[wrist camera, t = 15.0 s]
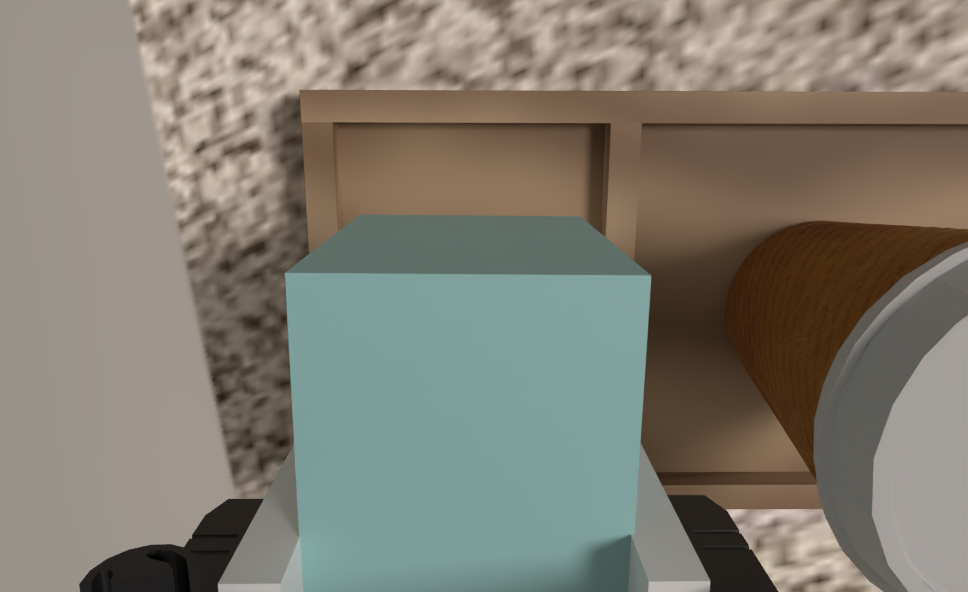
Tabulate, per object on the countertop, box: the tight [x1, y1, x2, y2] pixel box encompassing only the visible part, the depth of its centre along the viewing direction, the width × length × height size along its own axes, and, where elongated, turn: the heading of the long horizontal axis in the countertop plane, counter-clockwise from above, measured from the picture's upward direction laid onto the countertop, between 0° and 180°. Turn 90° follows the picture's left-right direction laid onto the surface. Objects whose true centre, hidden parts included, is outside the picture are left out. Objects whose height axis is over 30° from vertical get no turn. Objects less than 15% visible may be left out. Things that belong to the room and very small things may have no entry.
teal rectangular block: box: [285, 214, 651, 592], centre depth 13 cm, size 10×4×6 cm, turn 179°
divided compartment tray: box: [299, 90, 968, 509], centre depth 26 cm, size 15×26×2 cm, turn 90°
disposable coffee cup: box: [725, 221, 968, 592], centre depth 20 cm, size 10×10×12 cm
